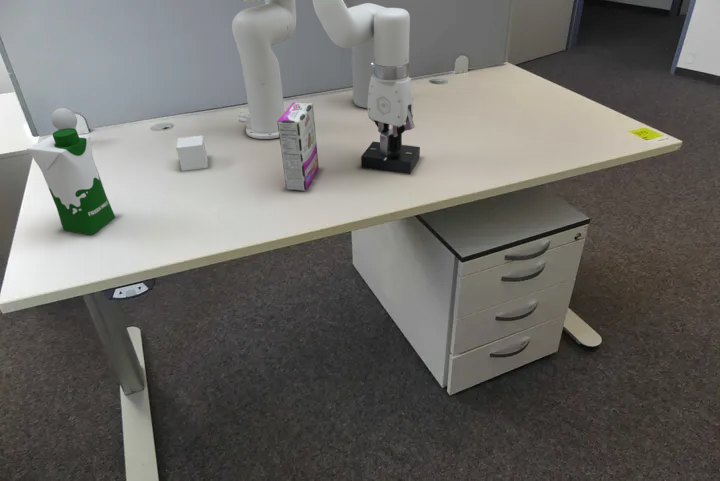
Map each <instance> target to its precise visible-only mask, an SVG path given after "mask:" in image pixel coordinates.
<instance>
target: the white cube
mask: <svg viewBox="0 0 720 481" xmlns="http://www.w3.org/2000/svg"><path fill="white" fill-rule="evenodd" d="M176 141H177V142H176V147H175V148H176V152H177V157H178V160H179V165H180V169H181V171H182V172H186V171H192V170H201V169H208V152H207V149H206V144H205V140H204V135H201V134H200V135H194V136H184V137H177V139H176Z"/></svg>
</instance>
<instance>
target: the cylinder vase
mask: <svg viewBox="0 0 720 481" xmlns="http://www.w3.org/2000/svg"><path fill="white" fill-rule="evenodd" d="M373 61H374V40H372V41H369V42H365V43H362V44H360V45H357V46H355V47H352V48H351V68H352V69H351V70H352V71H351V72H352V101H353V103H354V104H355V105H356V106H357V107H359V108H362V109H368V92H369V84H370V80H371V76H372V75H373V74H374V68H372V67H371V63H372V62H373Z"/></svg>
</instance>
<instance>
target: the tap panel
mask: <svg viewBox="0 0 720 481" xmlns="http://www.w3.org/2000/svg"><path fill="white" fill-rule="evenodd" d="M420 153H421V147H420V146H416V145H407V144H402V148H401V149H399V150H397V151H395V152H394V153H392V154H390V155H388V156H387V157H386V156H383V155H380V141H372V142H370V144H369V145H368V147H367V148H366V150H364V152H363V153H362V154H361V155H360V162H361V163H360V165H361V169H366V170H367V169H369V170H375V171H382V172H383V171H385V172H390V173H391V172H392V173H397V174H404V175H405V174H406V175H411V174H412V173H413V170H414V169H415V167H416V165H417V163H418V162H419V160H420V155H421V154H420Z"/></svg>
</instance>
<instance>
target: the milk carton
mask: <svg viewBox="0 0 720 481" xmlns="http://www.w3.org/2000/svg"><path fill="white" fill-rule="evenodd" d="M92 145H93V144H92V137H91V135H86V134H85V135H84V134H79V133H78V131H77V128H76V129H73V128H66V129H61V130H58V129H57V130H56V131H54V132H53V133H52V135H51V136H48V137H46V138H44V139H42V140H40V141H39V142H37V143H34V144H33V145H31V146H29V147H27V148H26V150H27V151H28V153H29V154H30V156H31V157H32V159H33V160H34V161H35V163H36V164H37V166H38V167H39V169H40V171H41V173H42V176H43V179H44V181H45V183H46V185H47V189H48V191H49V193H50V195H51V197H52V201H53V202H54V205H55V207H56V211H57V214H58V216H59V221H60V224H61V227H62V230H63V231H66V232H71V233H77V234H84V235H89V236H93V235H95V234H96V233H98V231H100V230H101V229H103V227H105V226H106V225H107V224H109V223H110V222H111V221H113V220H114V219H115V218H116V215H115V212H114V211H113V208H112V206H111V203H110V201H109V199H108V196H107V194H106V190H105V188H104V185H103V182H102V179H101V176H100V172H99V170H98V167H97V165H96V161H95V159H94V155H93V146H92Z"/></svg>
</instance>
